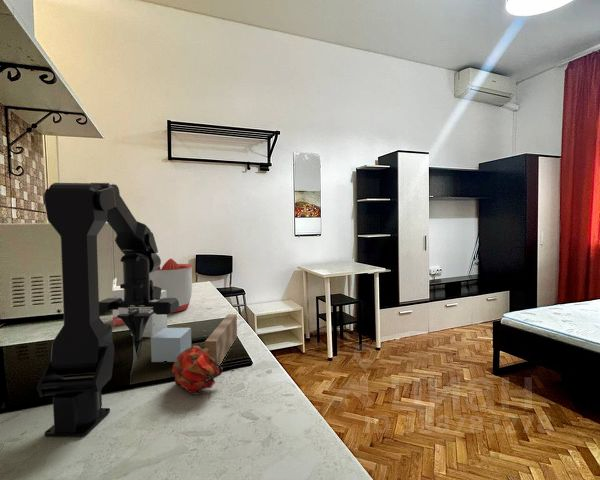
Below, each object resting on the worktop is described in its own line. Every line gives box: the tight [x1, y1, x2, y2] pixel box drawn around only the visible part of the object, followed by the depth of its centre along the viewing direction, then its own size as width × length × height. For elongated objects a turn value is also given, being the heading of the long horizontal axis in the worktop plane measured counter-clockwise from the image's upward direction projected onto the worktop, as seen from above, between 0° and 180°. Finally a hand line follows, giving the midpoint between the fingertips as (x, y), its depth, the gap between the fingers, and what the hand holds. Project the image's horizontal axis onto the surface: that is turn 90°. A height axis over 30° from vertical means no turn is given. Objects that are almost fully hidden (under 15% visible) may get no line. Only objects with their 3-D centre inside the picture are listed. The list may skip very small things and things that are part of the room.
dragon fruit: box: [171, 345, 224, 396], centre depth 61 cm, size 8×8×12 cm
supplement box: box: [130, 290, 168, 338], centre depth 91 cm, size 7×7×13 cm
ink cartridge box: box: [111, 277, 126, 326], centre depth 103 cm, size 9×5×15 cm, turn 25°
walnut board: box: [204, 313, 238, 368], centre depth 77 cm, size 20×2×7 cm, turn 179°
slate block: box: [150, 327, 192, 363], centre depth 75 cm, size 7×7×6 cm
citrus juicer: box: [149, 258, 193, 313], centre depth 117 cm, size 16×17×20 cm
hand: (138, 339), depth 75 cm, fingers closed
